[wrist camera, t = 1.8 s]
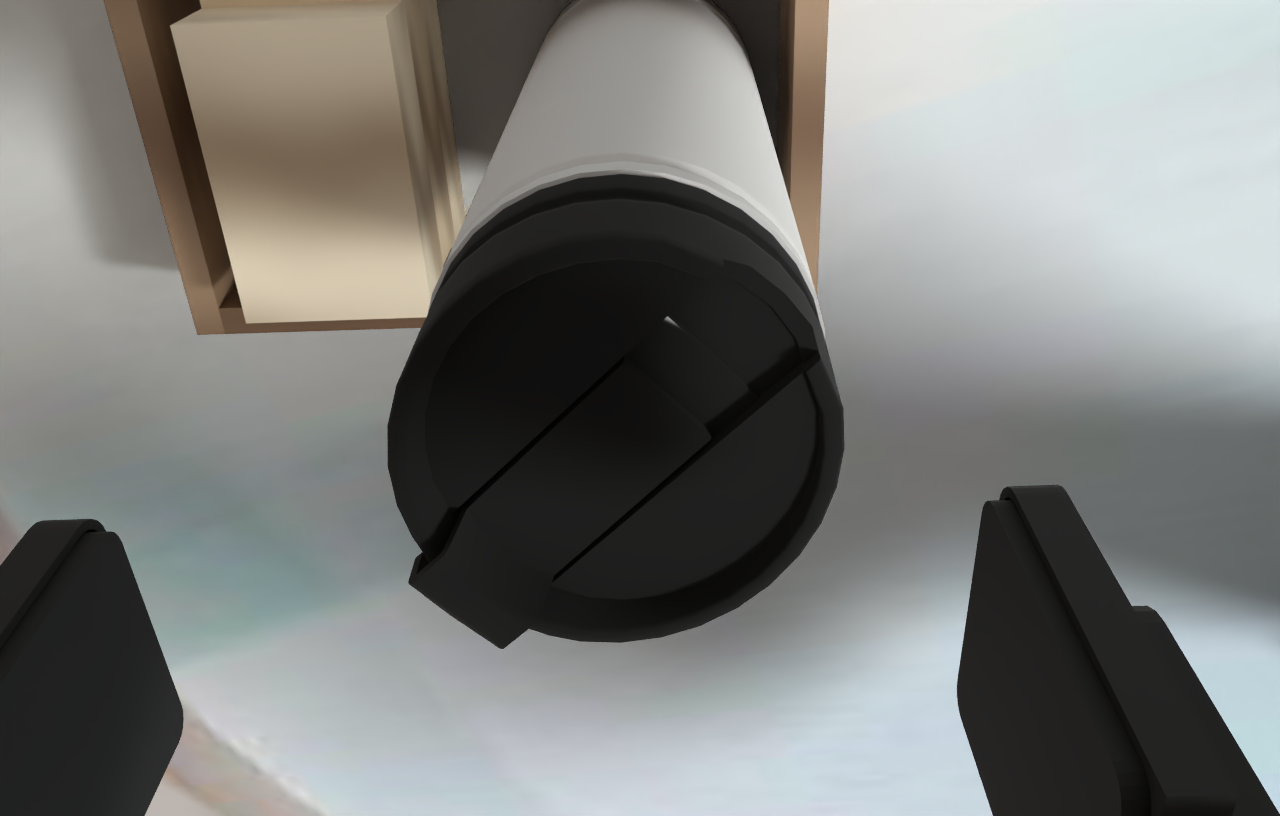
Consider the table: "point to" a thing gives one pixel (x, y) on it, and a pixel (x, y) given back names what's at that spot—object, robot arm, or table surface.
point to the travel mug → (620, 349)
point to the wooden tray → (153, 74)
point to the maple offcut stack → (326, 152)
